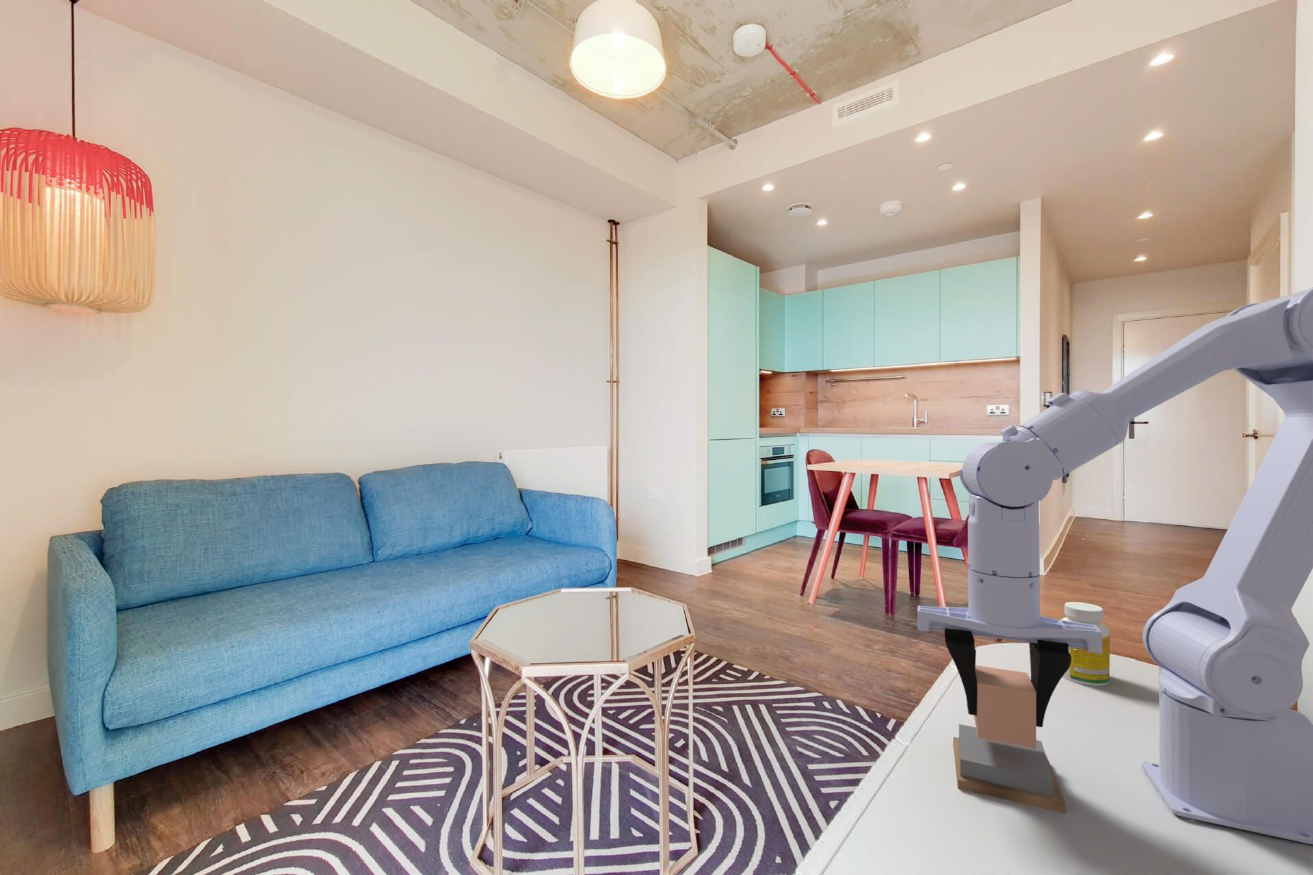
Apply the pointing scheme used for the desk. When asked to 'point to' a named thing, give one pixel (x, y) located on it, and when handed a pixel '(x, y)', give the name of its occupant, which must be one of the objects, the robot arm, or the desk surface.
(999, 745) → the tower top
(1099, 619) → the supplement bottle
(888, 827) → the desk surface
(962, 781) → the tower base
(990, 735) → the terracotta block
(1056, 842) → the desk surface
